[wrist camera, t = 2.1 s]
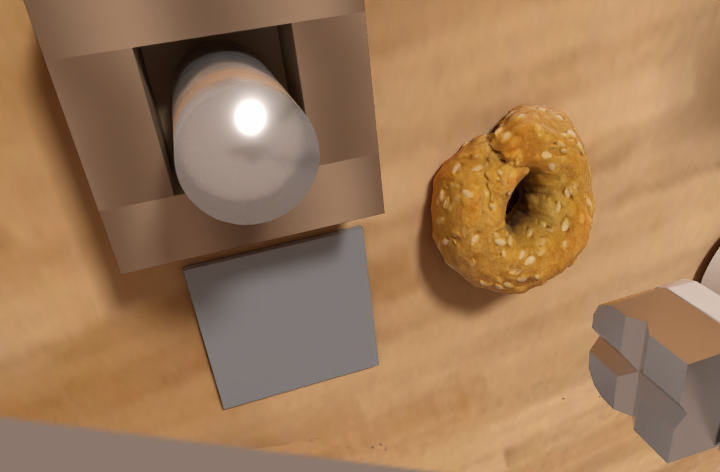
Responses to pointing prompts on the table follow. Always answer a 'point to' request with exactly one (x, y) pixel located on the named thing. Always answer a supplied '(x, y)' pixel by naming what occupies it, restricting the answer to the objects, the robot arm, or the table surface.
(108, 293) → the table surface
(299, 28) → the pocket block
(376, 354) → the mat
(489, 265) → the bagel
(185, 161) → the part
